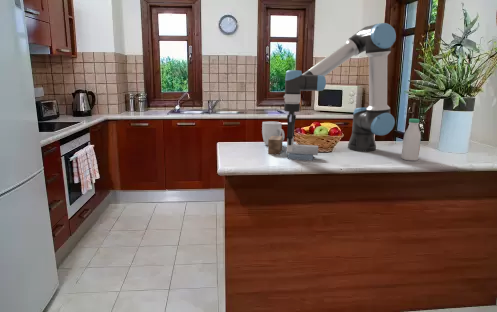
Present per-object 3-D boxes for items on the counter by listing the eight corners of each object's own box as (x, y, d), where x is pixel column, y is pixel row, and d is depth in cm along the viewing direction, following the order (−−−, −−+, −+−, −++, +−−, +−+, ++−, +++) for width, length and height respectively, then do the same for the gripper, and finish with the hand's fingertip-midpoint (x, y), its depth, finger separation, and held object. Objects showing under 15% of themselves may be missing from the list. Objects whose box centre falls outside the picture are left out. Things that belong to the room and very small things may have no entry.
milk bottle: (417, 161, 170) (422, 120, 166) (399, 159, 174) (404, 119, 170) (419, 158, 176) (424, 118, 172) (402, 156, 180) (407, 117, 176)
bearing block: (282, 149, 192) (282, 136, 191) (279, 154, 181) (280, 140, 180) (271, 149, 194) (271, 135, 192) (268, 153, 183) (268, 139, 181)
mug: (289, 146, 203) (290, 123, 200) (277, 148, 196) (277, 125, 193) (270, 142, 214) (271, 120, 211) (257, 144, 206) (258, 122, 203)
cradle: (313, 156, 178) (313, 152, 178) (312, 160, 170) (312, 156, 169) (289, 154, 181) (289, 151, 180) (287, 158, 172) (287, 154, 172)
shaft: (317, 153, 175) (318, 145, 174) (317, 155, 171) (318, 147, 170) (287, 151, 178) (287, 143, 177) (286, 153, 174) (287, 145, 173)
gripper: (286, 101, 179) (284, 146, 184) (282, 104, 163) (280, 153, 168) (301, 102, 178) (298, 147, 183) (298, 104, 161) (296, 154, 167)
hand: (290, 150), depth 175 cm, fingers closed on shaft, 4 cm apart
